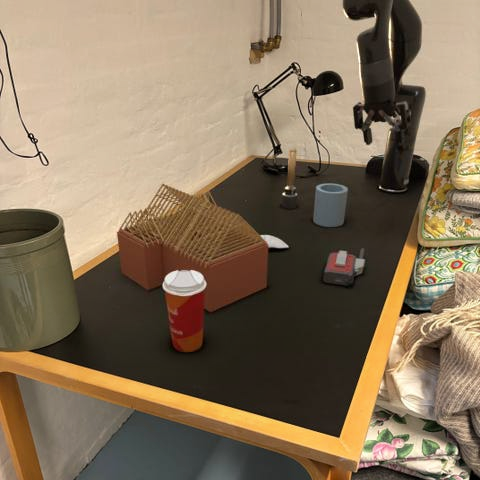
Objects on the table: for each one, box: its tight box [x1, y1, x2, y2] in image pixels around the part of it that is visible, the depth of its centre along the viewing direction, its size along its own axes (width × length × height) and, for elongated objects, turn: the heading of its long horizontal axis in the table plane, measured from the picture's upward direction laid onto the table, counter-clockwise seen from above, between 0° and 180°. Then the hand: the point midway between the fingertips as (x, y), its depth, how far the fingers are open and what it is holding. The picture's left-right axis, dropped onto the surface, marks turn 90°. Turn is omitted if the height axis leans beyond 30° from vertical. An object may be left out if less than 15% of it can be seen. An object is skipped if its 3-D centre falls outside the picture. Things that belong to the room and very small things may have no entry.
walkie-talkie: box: [322, 247, 366, 287], centre depth 121 cm, size 9×4×20 cm
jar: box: [312, 182, 349, 228], centre depth 146 cm, size 9×9×10 cm
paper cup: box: [162, 270, 206, 353], centre depth 91 cm, size 8×8×14 cm
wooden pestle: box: [281, 147, 298, 210], centre depth 155 cm, size 5×5×18 cm
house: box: [116, 183, 269, 313], centre depth 112 cm, size 28×23×19 cm
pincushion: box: [256, 227, 289, 249], centre depth 131 cm, size 12×6×6 cm, turn 81°
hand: (384, 144), depth 128 cm, fingers open, 8 cm apart
